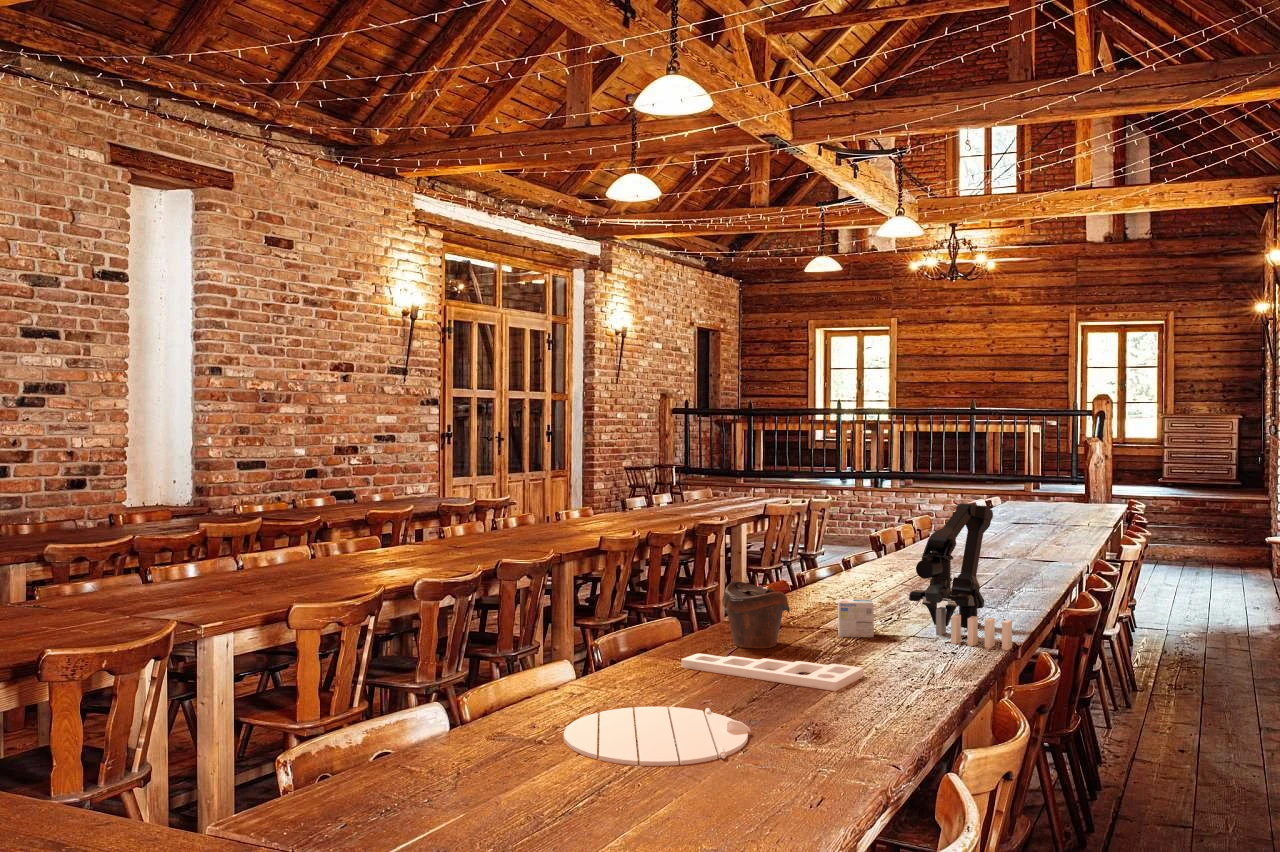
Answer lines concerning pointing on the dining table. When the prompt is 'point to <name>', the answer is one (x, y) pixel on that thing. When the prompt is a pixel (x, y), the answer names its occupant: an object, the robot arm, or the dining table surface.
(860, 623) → the light bulb box
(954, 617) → the domino
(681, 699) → the dining table surface
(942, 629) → the domino
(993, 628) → the domino
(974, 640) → the domino
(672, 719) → the white grooved round board
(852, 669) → the holder
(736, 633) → the rusty bucket
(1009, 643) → the domino
